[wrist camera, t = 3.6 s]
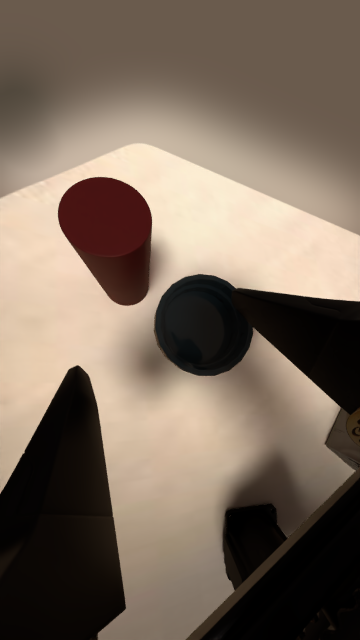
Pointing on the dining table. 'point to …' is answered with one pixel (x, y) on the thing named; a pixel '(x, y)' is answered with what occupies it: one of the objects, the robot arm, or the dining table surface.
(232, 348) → the dish
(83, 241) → the candle
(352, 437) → the coffee box
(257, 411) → the dining table surface
